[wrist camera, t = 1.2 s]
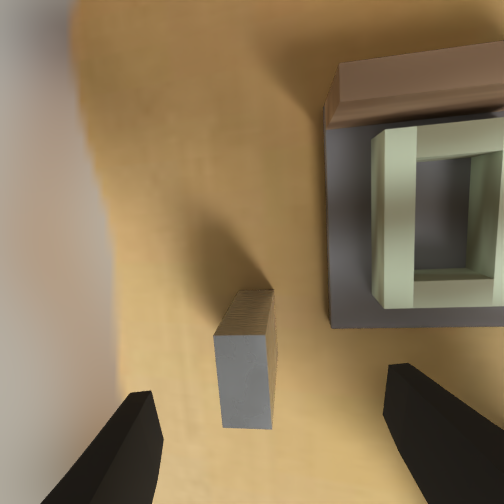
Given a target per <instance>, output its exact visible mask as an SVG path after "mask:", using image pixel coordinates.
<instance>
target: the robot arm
mask: <svg viewBox="0 0 504 504" xmlns="http://www.w3.org/2000/svg"><path fill="white" fill-rule="evenodd" d="M383 416H384V419H385V421H386V423H387V426H388V428H389V430H390V433H391V435H392V437H393V440H394V442H395V444H396V446H397V448H398V451H399V453H400V454H401V456H402V458H403V460H404V462H405V463H406V465H407V467H408V469H409V471H410V472H411V474H412V476H413V478H414V480H415V481H416V483H417V485H418V487H419V488H420V490H421V492H422V494H423V495H424V497H425V499H426V501H427V502H428V504H504V430H502V429H501V428H499V427H498V426H496V425H495V424H494V423H492V422H491V421H489V420H488V419H486V418H485V417H483V416H482V415H481V414H479V413H478V412H476V411H475V410H473V409H472V408H471V407H469V406H468V405H466V404H465V403H464V402H462V401H461V400H459V399H458V398H457V397H455V396H454V395H452V394H451V393H450V392H448V391H447V390H445V389H444V388H443V387H441V386H440V385H439V384H437V383H436V382H434V381H433V380H432V379H430V378H429V377H427V376H426V375H425V374H423V373H422V372H421V371H419V370H418V369H416V368H415V367H413V366H412V365H410V364H409V363H403V364H394V365H389V367H388V375H387V383H386V392H385V400H384V409H383ZM163 441H164V439H163V435H162V431H161V427H160V423H159V419H158V415H157V411H156V407H155V403H154V399H153V395H152V392H151V391H142V392H133V393H130V394H129V395H128V396H127V397H126V399H125V400H124V401H123V403H122V404H121V405H120V406H119V408H118V409H117V410H116V412H115V413H114V414H113V416H112V417H111V418H110V420H109V421H108V422H107V423H106V425H105V426H104V427H103V428H102V430H101V431H100V432H99V434H98V435H97V436H96V437H95V439H94V440H93V441H92V442H91V444H90V445H89V446H88V448H87V449H86V450H85V451H84V453H83V454H82V455H81V456H80V457H79V459H78V460H77V461H76V463H74V465H73V466H72V467H71V468H70V470H69V471H68V472H67V473H66V475H65V476H64V477H63V478H62V479H61V480H60V482H59V483H58V484H57V485H56V486H55V488H54V489H53V490H52V491H51V492H50V493H49V494H48V496H47V497H46V498H45V499H44V500H43V501H42V502H41V504H152V501H153V497H154V493H155V489H156V485H157V480H158V474H159V468H160V462H161V455H162V448H163Z"/></svg>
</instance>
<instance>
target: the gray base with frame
mask: <svg viewBox="0 0 504 504" xmlns="http://www.w3.org/2000/svg"><path fill="white" fill-rule="evenodd" d="M323 121H324V154H325V187H326V221H327V254H328V287H329V320H330V325H331V328H332V329H343V328H424V327H504V40H503V41H496V42H489V43H481V44H474V45H467V46H460V47H452V48H445V49H438V50H431V51H423V52H416V53H409V54H402V55H394V56H387V57H380V58H373V59H366V60H358V61H351V62H344V63H339V65H338V68H337V71H336V74H335V76H334V79H333V82H332V85H331V87H330V90H329V93H328V96H327V99H326V101H325V104H324V107H323Z"/></svg>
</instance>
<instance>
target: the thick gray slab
mask: <svg viewBox="0 0 504 504" xmlns="http://www.w3.org/2000/svg"><path fill="white" fill-rule="evenodd" d="M213 338H214V347H215V357H216V367H217V376H218V386H219V396H220V405H221V415H222V425H223V428H246V429H272V423H273V411H274V398H275V385H276V372H277V360H278V349H277V334H276V318H275V302H274V289H271V290H240V291H238V293H237V294H236V296H235V298H234V300H233V302H232V303H231V305H230V307H229V309H228V310H227V312H226V314H225V316H224V318H223V319H222V321H221V323H220V325H219V326H218V328H217V330H216V332H215V333H214V335H213Z"/></svg>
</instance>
